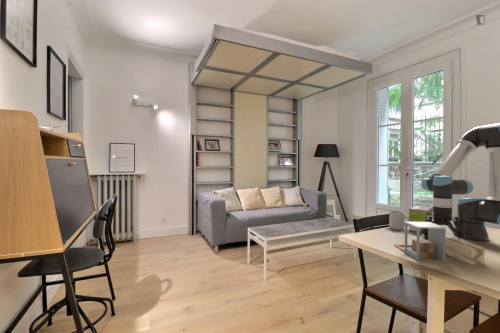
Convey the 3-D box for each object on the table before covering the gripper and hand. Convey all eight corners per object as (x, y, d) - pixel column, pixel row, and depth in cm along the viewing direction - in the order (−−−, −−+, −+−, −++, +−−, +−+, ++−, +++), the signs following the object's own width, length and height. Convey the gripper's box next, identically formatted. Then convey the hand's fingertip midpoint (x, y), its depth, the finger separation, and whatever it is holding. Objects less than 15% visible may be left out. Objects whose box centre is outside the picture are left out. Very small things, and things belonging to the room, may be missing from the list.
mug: (387, 228, 158) (388, 212, 158) (390, 226, 164) (390, 210, 164) (409, 232, 150) (409, 214, 150) (411, 229, 156) (411, 213, 156)
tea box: (415, 226, 163) (415, 205, 163) (433, 229, 156) (433, 207, 155) (408, 230, 153) (408, 207, 153) (427, 234, 146) (427, 210, 146)
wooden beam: (431, 244, 127) (432, 231, 127) (484, 264, 101) (484, 248, 101) (421, 244, 127) (421, 231, 127) (471, 265, 101) (471, 248, 101)
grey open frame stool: (417, 246, 123) (418, 217, 123) (445, 261, 104) (445, 227, 104) (394, 246, 124) (394, 217, 124) (417, 260, 105) (417, 226, 105)
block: (425, 253, 113) (425, 239, 113) (433, 258, 107) (433, 243, 107) (411, 253, 113) (411, 238, 113) (419, 258, 107) (419, 242, 107)
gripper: (462, 205, 122) (461, 247, 122) (412, 204, 124) (411, 245, 124) (474, 208, 114) (474, 252, 114) (421, 207, 116) (421, 250, 116)
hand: (441, 249), depth 119 cm, fingers open, 12 cm apart
